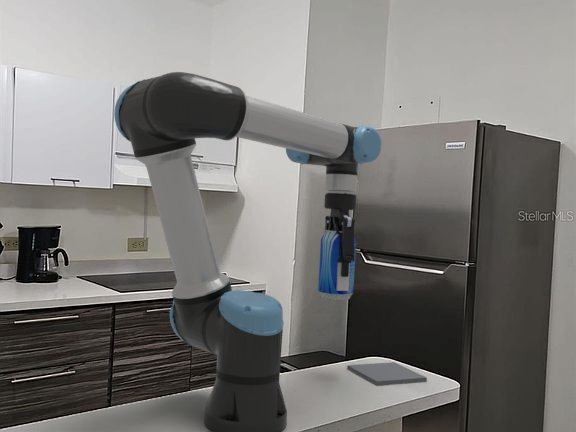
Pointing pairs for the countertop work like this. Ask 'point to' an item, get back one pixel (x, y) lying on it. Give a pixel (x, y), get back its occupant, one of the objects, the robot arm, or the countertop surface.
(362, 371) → the mat
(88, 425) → the countertop surface
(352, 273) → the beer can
